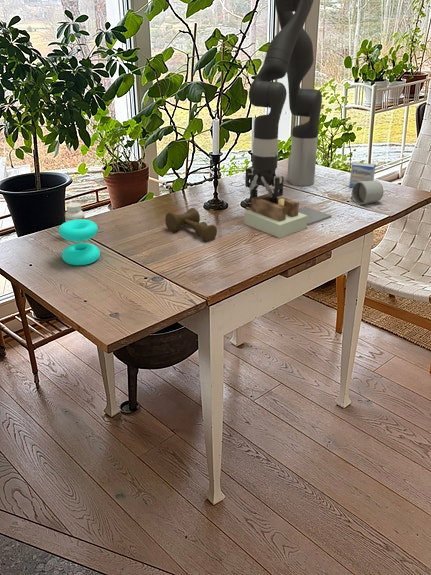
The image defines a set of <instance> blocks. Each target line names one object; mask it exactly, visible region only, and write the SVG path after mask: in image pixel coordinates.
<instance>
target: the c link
mask: <svg viewBox="0 0 431 575" xmlns="http://www.w3.org/2000/svg"><path fill="white" fill-rule="evenodd" d="M269 197H270V195H269V193H264V194H262V195H257V197H254V198H252V202H250V203H251V206H250V209H251V211H253V212H256V213H258V214H261V215H264V216H266V217H269V218H272V219H274V220H277V221H279V222H280V221H283V220H286V214H287V215H288V216H290V217H295V216H298V211H299V208H300V202H299V201H296V200H292V199H289V198H287V197H286V198H285V197H284V196H279V197H277V204H275V203H272V202H269ZM280 198H283V199H284V206H283V205H278V199H280Z"/></svg>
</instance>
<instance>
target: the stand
mask: <svg viewBox="0 0 431 575" xmlns="http://www.w3.org/2000/svg"><path fill="white" fill-rule="evenodd" d="M278 205H283V206H284V199H283V198H280V199H278ZM243 213H244V214H243V225H246V226H249V227H251V228H253V229H256V230H259V231H261V232H264V233H266V234H269V235H271V236H273V237H275V238H279V239H280V238H283V237H286V236H289V235H292V234H294V233H296V232H299V231H303V230H305V229H307V228H308V225H307V218H308V216H307V215H305V214H302V213H299V212H298V216H295V217H290V216H288V215H287V214H286V220H283V221H280V222H279V221H277V220H274V219H272V218H269V217H266V216H264V215H261V214H258V213H256V212H253V211H251V208H250V209H248V210H244V211H243Z"/></svg>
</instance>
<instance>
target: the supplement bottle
mask: <svg viewBox="0 0 431 575" xmlns="http://www.w3.org/2000/svg"><path fill="white" fill-rule="evenodd" d="M64 214H65V215H64V217H65V222H67V221H70V220H76V219H85V218H86V217H85V212H84V211H83V210H82V205H81V203H80V202H70V203H67V204H66V212H64Z"/></svg>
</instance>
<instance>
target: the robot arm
mask: <svg viewBox="0 0 431 575" xmlns="http://www.w3.org/2000/svg"><path fill="white" fill-rule="evenodd" d="M313 3H314V0H274V6H275V10H276V13H277V14H276V15H277V18H278V23H279V27H280V30H279V31H278V32H277V33H276V34H275V36H274V37H273V38H272V40H271V41H270V43H269V45H268V48H267V50H266V54H265V58H264V60H263V61H264V62H263V64H262V66H261V68H260V70H258V73H257V75H256V76H255V77H254V79H253V80H252V83H251V84H250V86H249V89H248V90H249V91H248V102H249V103H250V104H251V105H252V106H254V107H258V108H266V109H267V108H268V109H269V108H270V111H269V113H268V114H262V115H258V116H256V117H255V118H254V121H253V122H254V123H253V124H254V125H253V127H254V128H253V140H252V141H253V142H252V153H251V154H252V155H251V159H252V160H251V167H246V168H245V179H244V180H245V181H244V185H245V187H246V188H248V190H249V191H250V192H249V199H250V203H252V198H254V197H258V188H259V187H260V186H261V187H263V188H265V190H266V192H268V193H269V195H270V197H269V202H272V203H275V204H277V197H279V196H281V197H283V194H284V179H285V178H284V176H283V175H282V176H281V175H280V176H278V175H277V174H276V171H277V169H278V159H279V124H280V120H281V115H282V111H283V108H284V106H285V103H286V100H287V93H288V103H289V104H288V105H289V111H290V113H291V115H293V116H297V117H305V118H309V119H308V121H306V122H304V123H301V124H298V125H295V126H294V127H293V128H292V131H291V142H290V143H291V146H290V147H291V148H290V155H288V158H287V159H288V161H287V176H286V180H287V182H289V183H290V184H291V185H294V186H301V187H304V186H305V187H306V186H312V185H313V184H315V177H316V176H315V175H316V166H317V165H316V163H317V152H318V151H317V150H318V141H319V139H318V138H319V129H320V128H319V127H320V118H321V111H322V104H323V103H322V102H323V95H322V91H321V90H319V89H311V88H301V86H300V85H301V83H302V81H303V79H304V78H305V76H306V75H307V74H308V73H309V71H310V70H311V68H312V66H313V64H314V61H315V60H314V57H315V56H314V48H313V42H312V39H311V37H310V35H309V33H308V32H307V31H306V30H305V28H304V26H305V24H306V21H307V19H308V16H309V14H310V11H311V9H312V7H313ZM285 77H287V83H288V84H287V86H288V87H287V88H288V92H287V88H286V86H285V84H284V83H283V82H279V81H276V80H280V79H283V78H285ZM268 193H267V194H268Z"/></svg>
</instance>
